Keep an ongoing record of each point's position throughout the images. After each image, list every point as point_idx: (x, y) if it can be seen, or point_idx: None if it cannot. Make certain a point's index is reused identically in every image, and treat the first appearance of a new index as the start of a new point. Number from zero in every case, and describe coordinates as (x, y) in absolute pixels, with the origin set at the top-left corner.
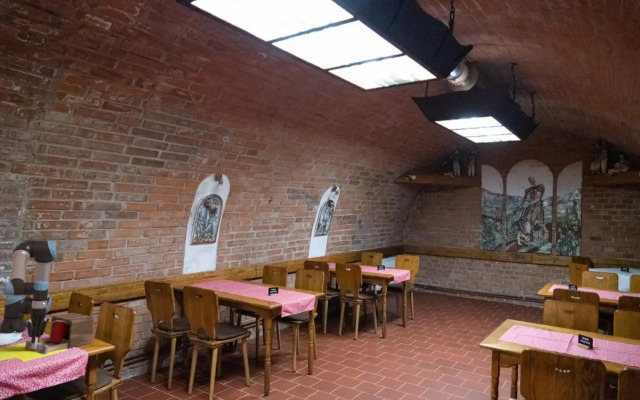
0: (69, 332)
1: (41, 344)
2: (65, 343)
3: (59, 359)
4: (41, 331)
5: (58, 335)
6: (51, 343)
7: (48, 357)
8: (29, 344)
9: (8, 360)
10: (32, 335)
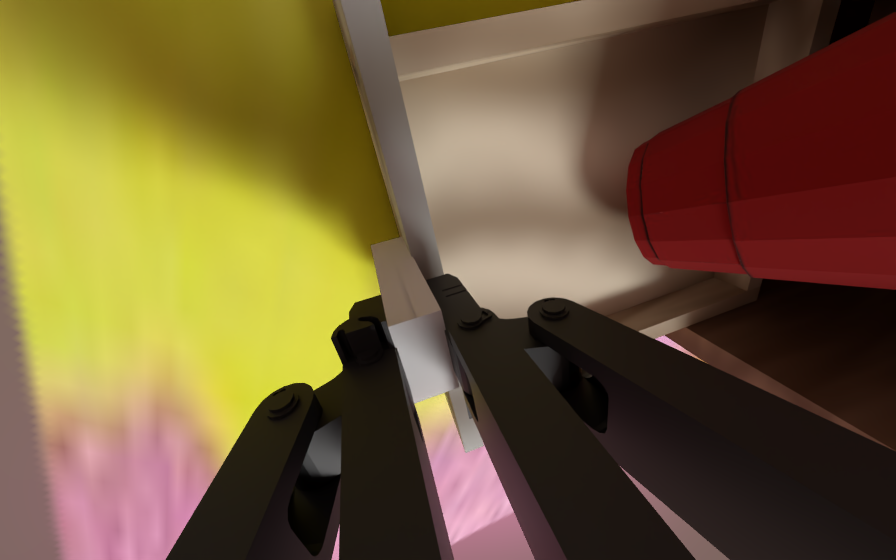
0: None
1: (551, 57)
2: (670, 326)
3: (469, 515)
4: (614, 348)
5: (752, 276)
6: (651, 91)
7: (432, 465)
8: (369, 117)
9: (84, 462)
10: (340, 483)
